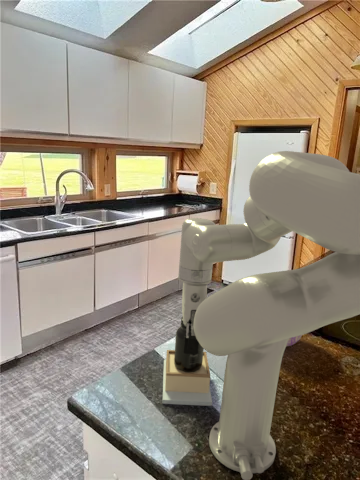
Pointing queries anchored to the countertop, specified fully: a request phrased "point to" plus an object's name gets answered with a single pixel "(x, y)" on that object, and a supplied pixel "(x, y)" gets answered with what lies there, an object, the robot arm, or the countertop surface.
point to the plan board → (182, 395)
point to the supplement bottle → (186, 360)
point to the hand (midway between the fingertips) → (189, 342)
